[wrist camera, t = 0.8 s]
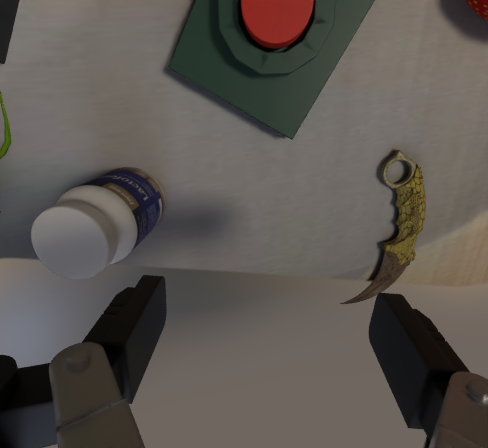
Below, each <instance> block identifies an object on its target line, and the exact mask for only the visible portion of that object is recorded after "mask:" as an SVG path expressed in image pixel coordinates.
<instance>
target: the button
mask: <svg viewBox="0 0 488 448" xmlns="http://www.w3.org/2000/svg"><path fill="white" fill-rule="evenodd" d="M313 2H314V0H241V10H242V15H243V20H244V23H245V27H246V29H247V31H248V33H249V34H250V36H251V37H252V38H253V39H254V40H255V41H256V42H257V43H259V44H260V45H262V46H264V47H267V48H275V49H276V48H282V47H285V46H288V45H289V44H291V43H293V42H294V41H295V40H296V39H297V38H298V37H299V36H300V35H301V34H302V32H303V30H304V29H305V27H306V25H307V23H308V21H309V19H310V16H311V13H312V9H313Z"/></svg>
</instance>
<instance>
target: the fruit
mask: <svg viewBox="0 0 488 448" xmlns="http://www.w3.org/2000/svg"><path fill="white" fill-rule="evenodd" d="M466 2H467V3H468V5H469V6H470V7H471V8H472V9H473V10H474V11H475V12H476V13H477V14H478V15H480V16H481V17H482V18H484V19H485V20H487V21H488V0H466Z"/></svg>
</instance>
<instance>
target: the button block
mask: <svg viewBox="0 0 488 448" xmlns="http://www.w3.org/2000/svg"><path fill="white" fill-rule="evenodd" d="M374 1H375V0H314V2H313V9H312V13H311V16H310V19H309V21H308V23H307V25H306V27H305V29H304V30H303V32H302V34H301V35H300V36H299V37H298V38H297V39H296V40H295V41H294V42H293V43H291V44H289V45H288V46H285V47H282V48H276V49H275V48H267V47H264V46H262V45H260V44H259V43H257V42H256V41H255V40H254V39H253V38H252V37H251V36H250V34H249V33H248V31H247V29H246V27H245V23H244V20H243V15H242V10H241V0H196V1H195V3H194V6H193V8H192V11H191V13H190V15H189V18H188V20H187V23H186V25H185V28H184V30H183V32H182V35H181V37H180V40H179V42H178V45H177V47H176V50H175V52H174V54H173V57H172V59H171V62H170V64H169V68H170V69H172V70H174V71H175V72H177V73H179V74H180V75H182V76H184V77H186V78H187V79H189V80H191V81H192V82H194V83H196V84H198V85H199V86H201V87H203V88H204V89H206V90H208V91H209V92H211V93H213V94H215V95H216V96H218V97H220V98H221V99H223V100H225V101H227V102H228V103H230V104H232V105H233V106H235V107H237V108H239V109H240V110H242V111H244V112H245V113H247V114H249V115H250V116H252V117H254V118H256V119H257V120H259V121H261V122H262V123H264V124H266V125H268V126H269V127H271V128H273V129H274V130H276V131H278V132H280V133H281V134H283V135H285V136H286V137H288V138H290V139H293V138H294V136H295V134H296V132H297V131H298V129H299V127H300V126H301V124H302V122H303V121H304V119H305V117H306V116H307V114H308V112H309V110H310V109H311V107H312V105H313V104H314V102H315V100H316V99H317V97H318V95H319V94H320V92H321V90H322V88H323V87H324V85H325V83H326V82H327V80H328V78H329V77H330V75H331V73H332V72H333V70H334V68H335V66H336V65H337V63H338V61H339V60H340V58H341V56H342V55H343V53H344V51H345V50H346V48H347V46H348V45H349V43H350V41H351V39H352V38H353V36H354V34H355V33H356V31H357V29H358V28H359V26H360V24H361V23H362V21H363V19H364V17H365V16H366V14H367V12H368V11H369V9H370V7H371V6H372V4H373V2H374Z"/></svg>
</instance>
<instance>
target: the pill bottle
mask: <svg viewBox="0 0 488 448" xmlns="http://www.w3.org/2000/svg"><path fill="white" fill-rule="evenodd" d="M165 207H166V201H165V195H164V192H163V190H162V188H161V186H160V185H159V183H158V182H157V181H156V180H155V179H154V178H153V177H152V176H151V175H150V174H148V173H146V172H144V171H142V170H140V169H136V168H122V169H119V170H116V171H113V172H111V173H109V174H106V175H104V176H101V177H99V178H96V179H94V180H91V181H89V182H87V183H84V184H82V185H79V186H77V187H74V188H72V189H70V190H69V191H67V192H66V193H64V194H63V195H62V196H61V197H60V198H59V199H58V201H57V202H56V204H55V206H53V207H50V208H48V209H47V210H45V211H43V212H42V213H41V214H40V215H39V216H38V217H37V218H36V220H35V221H34V223H33V226H32V230H31V240H32V245H33V247H34V250H35V252H36V254H37V256H38V257H39V259H40V260H41V261H42V263H43V264H44V265H45V266H46V267H47V268H48V269H50V270H51V271H53V272H54V273H56V274H58V275H60V276H62V277H65V278H68V279H74V280H81V279H87V278H91V277H93V276H95V275H97V274H98V273H99V272H101V271H102V270H103V269H104V268H105V267H106V266H108V265H110V264H114V263H116V262H118V261H120V260H122V259H123V258H125V257H126V256H127V255H128V254H129V253H130V252H131V251H132V250H133V249H134V248H135V247H136V246H137V245H138V244H139V243H140V242H141V241H142V240H143V239H144V238H145V237H146V236H147V235H148V234H149V233H150V232H151V231H152V230H153V228H154V227H155V226H156V225H157V224H158V223H159V222H160V220H161V219H162V217H163V215H164V212H165Z"/></svg>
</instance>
